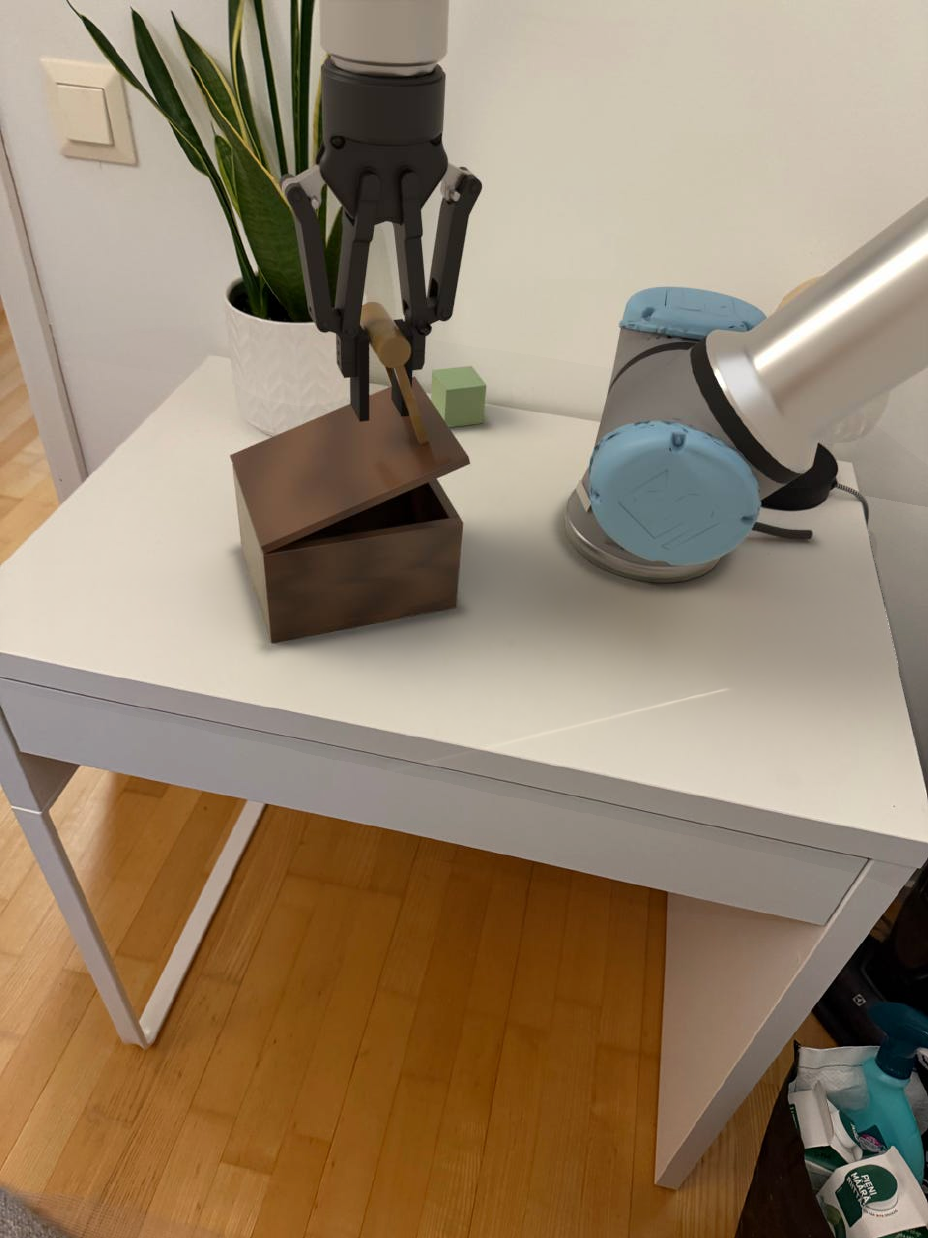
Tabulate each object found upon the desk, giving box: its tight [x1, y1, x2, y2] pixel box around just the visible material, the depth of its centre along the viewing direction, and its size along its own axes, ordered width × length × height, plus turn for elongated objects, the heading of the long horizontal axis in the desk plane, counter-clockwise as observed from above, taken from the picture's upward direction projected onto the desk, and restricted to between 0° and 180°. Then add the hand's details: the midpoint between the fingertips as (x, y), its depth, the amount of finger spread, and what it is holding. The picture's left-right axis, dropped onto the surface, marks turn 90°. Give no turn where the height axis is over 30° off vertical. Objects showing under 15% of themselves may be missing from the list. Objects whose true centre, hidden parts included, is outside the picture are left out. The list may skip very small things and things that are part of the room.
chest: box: [231, 464, 464, 644], centre depth 78 cm, size 16×13×9 cm
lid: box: [229, 301, 471, 553], centre depth 70 cm, size 17×13×10 cm
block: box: [430, 365, 488, 428], centre depth 102 cm, size 5×5×5 cm
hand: (380, 409), depth 71 cm, fingers closed on lid, 3 cm apart
